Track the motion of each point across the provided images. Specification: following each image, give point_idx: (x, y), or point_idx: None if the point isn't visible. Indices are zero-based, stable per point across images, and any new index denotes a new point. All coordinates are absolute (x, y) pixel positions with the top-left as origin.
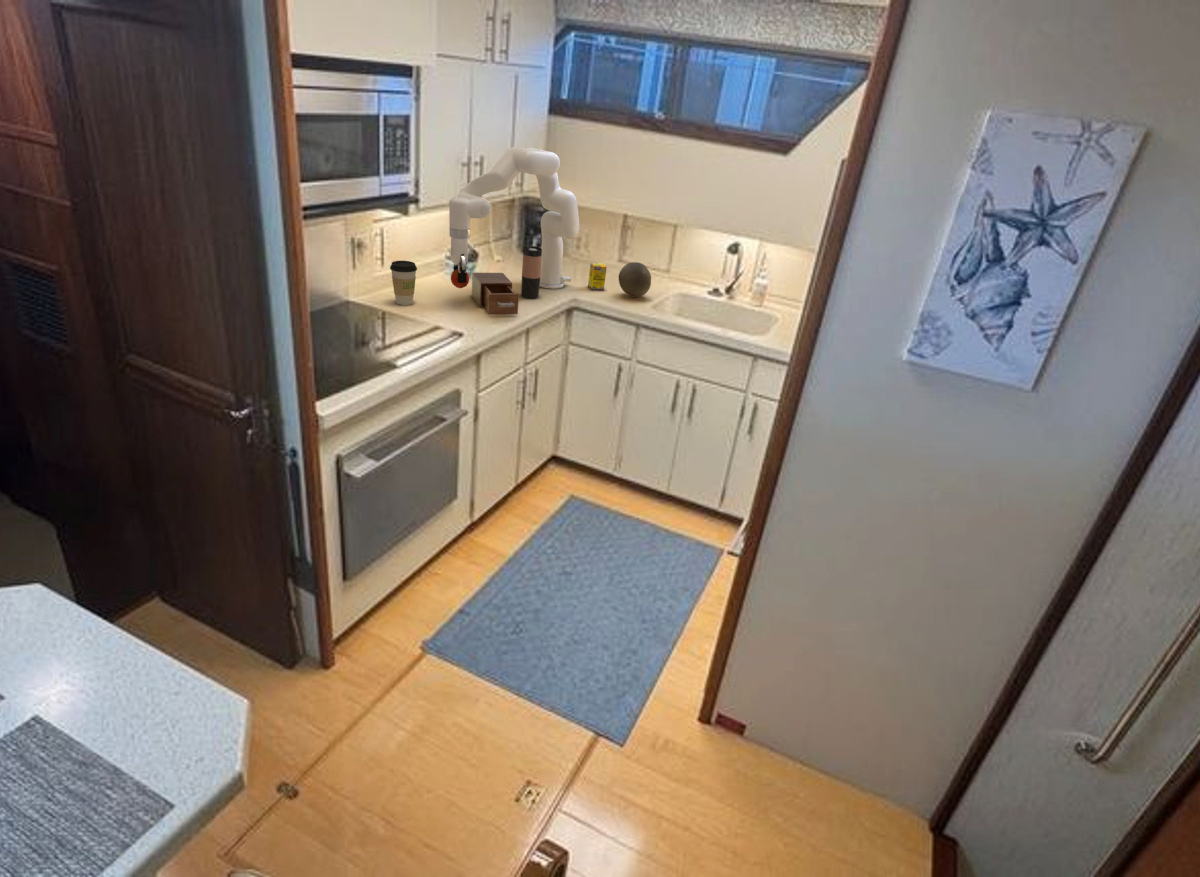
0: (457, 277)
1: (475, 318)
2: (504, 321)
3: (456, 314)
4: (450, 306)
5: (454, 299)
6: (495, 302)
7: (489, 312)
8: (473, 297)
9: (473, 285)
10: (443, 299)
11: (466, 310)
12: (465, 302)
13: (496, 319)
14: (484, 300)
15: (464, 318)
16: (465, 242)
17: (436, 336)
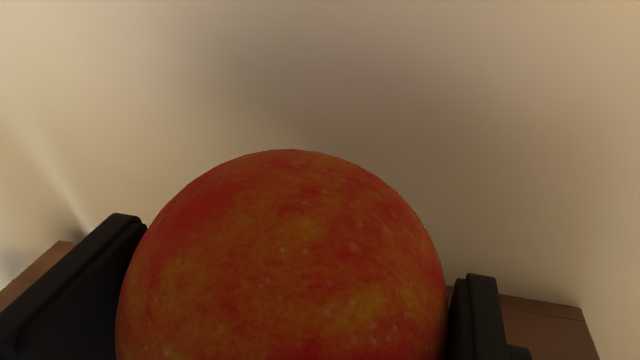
0: (131, 264)
1: (22, 136)
2: (5, 280)
3: (90, 15)
4: (315, 27)
5: (529, 135)
6: None
7: (49, 254)
8: (509, 300)
9: None
10: (568, 19)
11: (199, 134)
12: (412, 199)
13: (30, 254)
14: None
15: (4, 53)
16: None
17: None
